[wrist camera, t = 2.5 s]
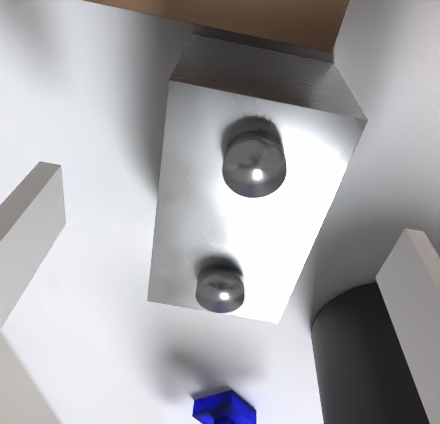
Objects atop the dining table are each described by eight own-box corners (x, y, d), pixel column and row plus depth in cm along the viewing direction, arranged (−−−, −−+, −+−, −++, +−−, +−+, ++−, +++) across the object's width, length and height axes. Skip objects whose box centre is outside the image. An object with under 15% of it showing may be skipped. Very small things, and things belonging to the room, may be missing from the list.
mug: (346, 391, 31) (375, 530, 24) (289, 304, 25) (304, 454, 18) (472, 366, 28) (548, 517, 21) (440, 259, 22) (531, 421, 15)
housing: (193, 33, 16) (164, 89, 10) (333, 62, 16) (374, 131, 11) (170, 218, 22) (143, 315, 16) (272, 237, 22) (279, 337, 17)
